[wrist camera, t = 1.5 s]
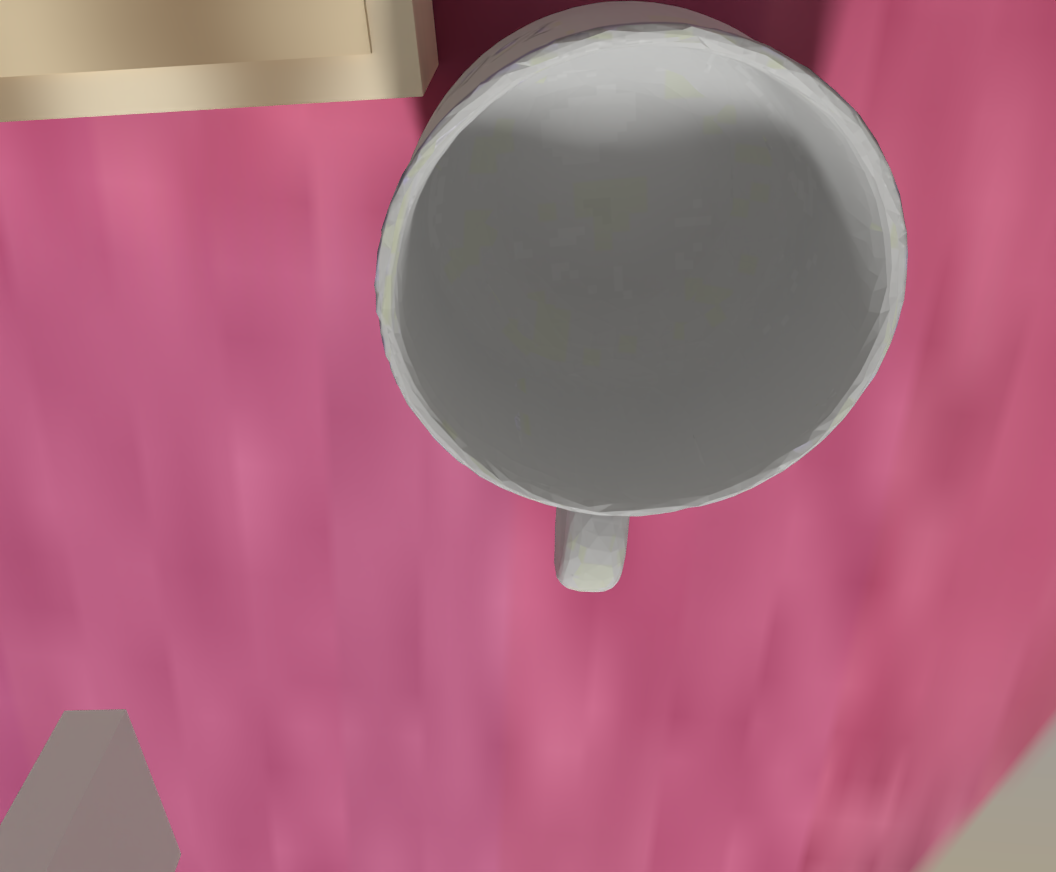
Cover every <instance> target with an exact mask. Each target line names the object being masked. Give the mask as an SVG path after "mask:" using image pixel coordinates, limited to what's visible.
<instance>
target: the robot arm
mask: <svg viewBox="0 0 1056 872" xmlns="http://www.w3.org/2000/svg"><path fill="white" fill-rule="evenodd" d="M180 856H181V852H180V850H179V847H178V845H177V842H176V839H175V837H174V834H173V831H172V829H171V826H170V824H169V821H168V818H167V816H166V813H165V810H164V808H163V805H162V803H161V800H160V797H159V795H158V792H157V789H156V787H155V784H154V782H153V779H152V776H151V774H150V771H149V768H148V766H147V763H146V761H145V758H144V755H143V753H142V750H141V747H140V745H139V742H138V740H137V737H136V734H135V732H134V729H133V727H132V724H131V721H130V719H129V716H128V713H127V711H126V709H119V710H76V711H64V713H63V714H62V716H61V718H60V720H59V721H58V723H57V725H56V727H55V729H54V730H53V732H52V734H51V736H50V738H49V739H48V741H47V743H46V745H45V746H44V748H43V750H42V752H41V754H40V755H39V757H38V759H37V761H36V762H35V764H34V766H33V768H32V770H31V771H30V773H29V775H28V777H27V778H26V780H25V782H24V784H23V786H22V787H21V789H20V791H19V793H18V795H17V796H16V798H15V800H14V802H13V803H12V805H11V807H10V809H9V811H8V812H7V814H6V816H5V818H4V819H3V821H2V823H1V825H0V872H175V869H176V867H177V864H178V861H179V859H180Z"/></svg>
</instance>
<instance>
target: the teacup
mask: <svg viewBox="0 0 1056 872" xmlns="http://www.w3.org/2000/svg"><path fill="white" fill-rule="evenodd" d="M381 231H382V235H381V239H380V244H379V248H378V252H377V266H376V278H375V284H374V286H375V292H376V313H377V315H378V317H379V322H380V331H381V336H382V341H383V345H384V350H385V354H386V357H387V359H388V360H389V363H390V368H391V371H392V373H393V376H394V378H395V380H396V383H397V384H398V386H399V388H400V390H401V392H402V394H403V396H404V398H405V400H406V402H407V404H408V405H409V407H410V408H411V409H412V411H413V412H414V413H415V415H416V416H417V417H418V418H419V420H420V421H421V422H422V423H423V425H424V426H425V427H426V428H427V430H428V431H429V432H430V434H431V435H432V436H433V438H434V439H435V440H436V441H437V442H438V443H439V444H440V445H441V446H442V447H443V448H444V449H445V450H447V451H448V452H449V453H450V454H451V455H452V456H453V457H454V458H455V459H456V460H458V461H459V462H460V463H462V464H464V465H466V466H467V467H468V468H470V469H471V470H472V471H473V472H475V473H476V474H477V475H478V476H480V477H482V478H484V479H486V480H488V481H489V482H491V483H493V484H495V485H497V486H499V487H501V488H503V489H506V490H508V491H510V492H513V493H515V494H518V495H520V496H523V497H526V498H529V499H532V500H535V501H537V502H540V503H543V504H546V505H550V506H555V507H557V509H556V522H555V558H554V563H555V570H556V576H557V578H558V580H559V581H560V582H561V584H562V585H564V586H565V587H567V588H569V589H573V590H576V591H584V592H602V591H606V590H608V589H611V588H612V587H613V586H614V585H615V584H616V583H617V582H618V581H619V578H620V576H621V573H622V569H623V564H624V559H625V555H626V546H627V537H628V526H629V516H646V515H653V514H662V513H668V512H674V511H678V510H682V509H685V508H689V507H698V506H703V505H707V504H710V503H714V502H718V501H721V500H724V499H727V498H730V497H733V496H735V495H737V494H740V493H742V492H744V491H747V490H749V489H751V488H753V487H755V486H757V485H759V484H761V483H762V482H764V481H766V480H768V479H770V478H771V477H773V476H775V475H777V474H779V473H780V472H782V471H784V470H785V469H787V468H788V467H789V466H791V465H792V464H794V463H795V462H797V461H798V460H799V459H801V458H802V457H803V456H804V455H806V454H807V453H808V452H809V451H811V450H812V449H813V448H814V447H815V446H816V445H818V444H819V443H820V442H821V441H822V440H823V439H824V438H826V437H827V436H828V435H829V434H830V432H831V431H832V430H833V429H834V428H835V427H836V426H837V425H838V424H839V423H840V422H841V421H842V420H843V419H844V418H845V416H846V415H847V414H848V412H849V411H850V410H851V408H852V407H853V406H854V405H855V403H856V402H857V400H858V399H859V397H860V396H861V394H862V393H863V392H864V390H865V389H866V387H867V386H868V385H869V383H870V382H871V381H872V379H873V378H874V376H875V375H876V373H877V371H878V369H879V367H880V365H881V363H882V360H883V358H884V356H885V354H886V352H887V350H888V348H889V346H890V343H891V341H892V338H893V335H894V332H895V330H896V327H897V324H898V320H899V316H900V313H901V309H902V305H903V301H904V294H905V286H906V275H907V258H908V249H907V231H906V226H905V221H904V215H903V210H902V204H901V198H900V193H899V191H898V188H897V185H896V183H895V180H894V177H893V175H892V172H891V169H890V167H889V165H888V163H887V161H886V159H885V157H884V155H883V153H882V151H881V148H880V146H879V144H878V142H877V140H876V139H875V137H874V136H873V134H872V133H871V131H870V130H869V128H868V127H867V126H866V124H865V123H864V121H863V119H862V118H861V116H860V115H859V114H858V113H857V112H856V111H855V110H854V109H853V108H852V107H851V106H850V105H849V104H848V103H847V102H846V101H845V100H844V99H843V98H842V97H841V96H840V95H839V94H838V93H837V92H836V91H835V90H834V89H833V88H832V87H830V86H829V85H828V84H827V83H826V82H824V81H823V80H822V79H821V78H820V77H818V76H817V75H816V74H815V73H814V72H812V71H811V70H810V69H809V68H807V67H806V66H804V65H802V64H800V63H798V62H796V61H794V60H793V59H791V58H789V57H788V56H786V55H784V54H783V53H781V52H779V51H777V50H776V49H774V48H772V47H770V46H768V45H766V44H763V43H760V42H758V41H755V40H754V39H752V38H750V37H749V36H747V35H745V34H744V33H742V32H740V31H739V30H737V29H735V28H733V27H731V26H729V25H727V24H725V23H723V22H721V21H718V20H716V19H714V18H711V17H709V16H706V15H703V14H700V13H698V12H695V11H692V10H689V9H685V8H681V7H677V6H672V5H666V4H660V3H655V2H642V1H611V2H601V3H594V4H588V5H583V6H578V7H573V8H570V9H567V10H564V11H561V12H558V13H555V14H552V15H549V16H546V17H543V18H541V19H539V20H536V21H534V22H532V23H530V24H528V25H526V26H525V27H523V28H521V29H519V30H517V31H515V32H514V33H512V34H510V35H509V36H507V37H506V38H504V39H502V40H501V41H499V42H498V43H497V44H495V45H494V46H493V47H491V48H490V49H489V50H488V51H486V52H485V53H484V54H483V55H481V56H480V57H479V58H478V59H477V60H476V61H475V62H474V63H473V64H472V65H471V66H470V67H469V68H468V69H467V70H466V71H465V72H464V73H463V74H462V75H461V77H460V78H459V79H458V80H457V81H456V83H455V84H454V85H453V86H452V87H451V89H450V90H449V91H448V92H447V94H446V95H445V96H444V98H443V99H442V101H441V102H440V104H439V105H438V107H437V108H436V110H435V112H434V113H433V115H432V116H431V118H430V120H429V122H428V124H427V126H426V128H425V129H424V131H423V133H422V135H421V137H420V139H419V141H418V144H417V146H416V148H415V150H414V153H413V155H412V158H411V161H410V163H409V164H408V166H407V168H406V169H405V171H404V173H403V174H402V177H401V179H400V181H399V183H398V185H397V188H396V190H395V192H394V195H393V198H392V200H391V203H390V205H389V208H388V211H387V214H386V217H385V220H384V223H383V226H382V229H381Z"/></svg>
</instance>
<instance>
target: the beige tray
mask: <svg viewBox="0 0 1056 872" xmlns="http://www.w3.org/2000/svg"><path fill="white" fill-rule="evenodd" d="M438 65H439V62H438V53H437V43H436V34H435V24H434V15H433V5H432V0H0V122H9V121H25V120H42V119H58V118H75V117H91V116H108V115H124V114H141V113H157V112H174V111H190V110H207V109H223V108H240V107H256V106H273V105H290V104H306V103H323V102H339V101H356V100H372V99H389V98H405V97H422V96H423V95H424V93H425V91H426V89H427V87H428V85H429V83H430V81H431V79H432V77H433V75H434V73H435V71H436V69H437V67H438Z"/></svg>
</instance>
